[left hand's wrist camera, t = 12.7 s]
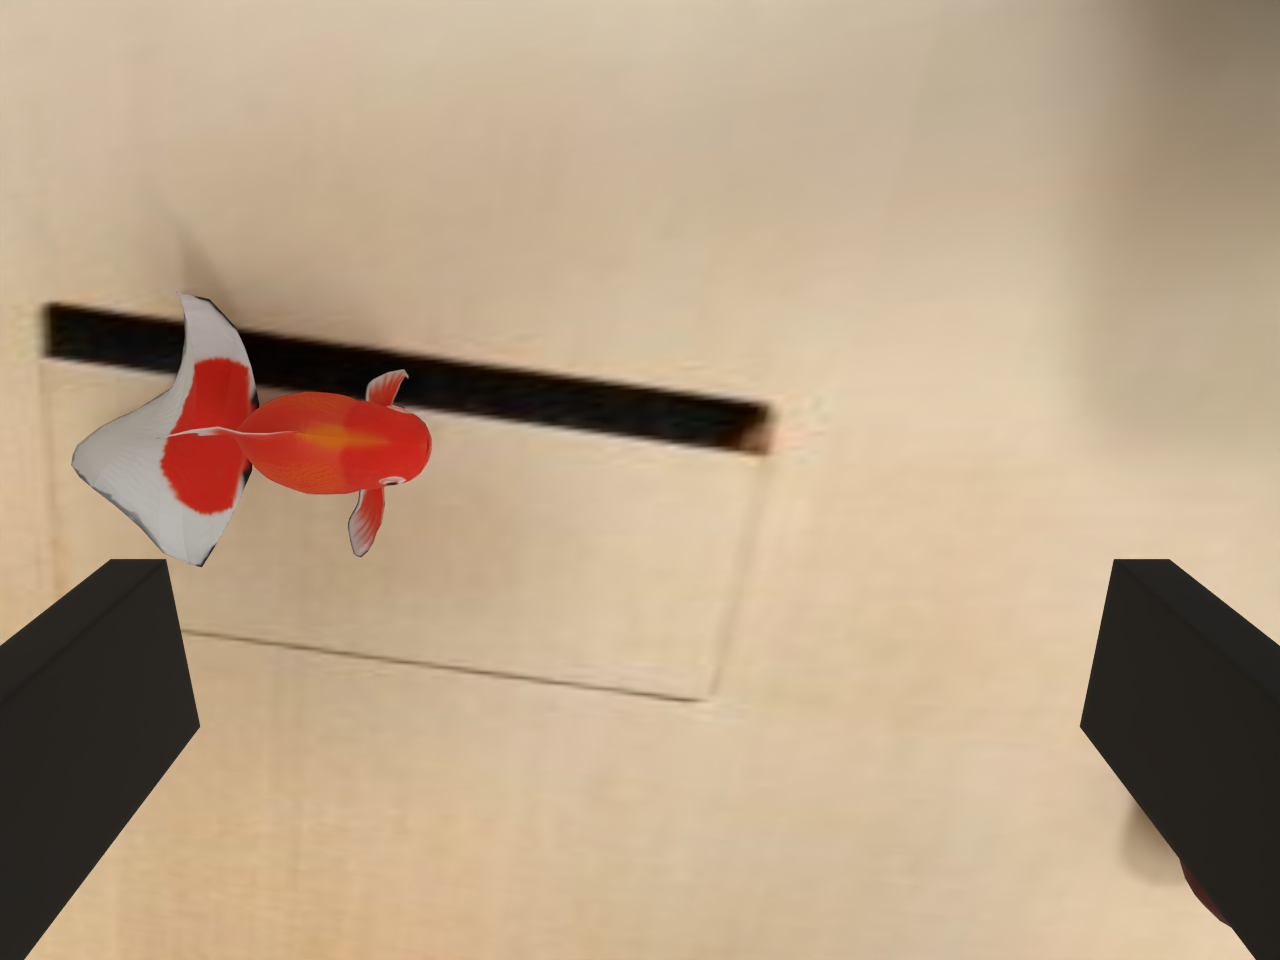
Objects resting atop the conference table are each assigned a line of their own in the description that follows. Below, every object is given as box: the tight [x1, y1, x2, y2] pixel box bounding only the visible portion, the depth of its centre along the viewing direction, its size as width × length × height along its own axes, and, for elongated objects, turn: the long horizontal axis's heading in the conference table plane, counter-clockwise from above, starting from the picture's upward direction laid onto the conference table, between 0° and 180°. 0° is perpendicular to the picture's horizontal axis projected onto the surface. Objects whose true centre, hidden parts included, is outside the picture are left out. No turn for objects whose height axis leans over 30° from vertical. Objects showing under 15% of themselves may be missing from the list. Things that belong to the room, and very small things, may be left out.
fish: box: [71, 292, 432, 567], centre depth 37 cm, size 11×16×10 cm
